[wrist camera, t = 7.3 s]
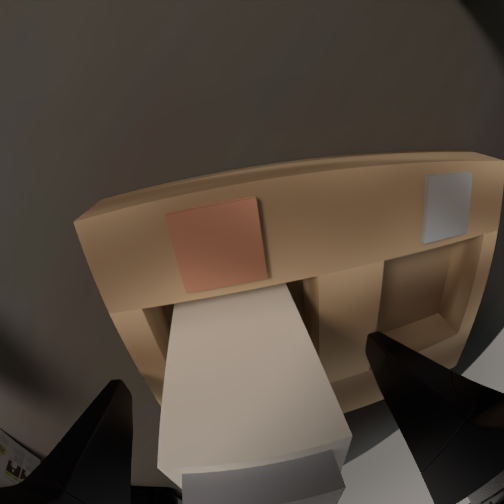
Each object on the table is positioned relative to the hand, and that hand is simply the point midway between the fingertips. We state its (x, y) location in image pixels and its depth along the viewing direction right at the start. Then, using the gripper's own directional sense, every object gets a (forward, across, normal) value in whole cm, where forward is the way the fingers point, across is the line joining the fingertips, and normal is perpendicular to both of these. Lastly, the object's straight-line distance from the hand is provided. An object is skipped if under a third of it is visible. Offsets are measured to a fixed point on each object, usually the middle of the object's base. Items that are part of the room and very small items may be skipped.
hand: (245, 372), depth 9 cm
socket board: (+3, -4, 0) cm, 5 cm away
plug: (+3, 0, 0) cm, 3 cm away
